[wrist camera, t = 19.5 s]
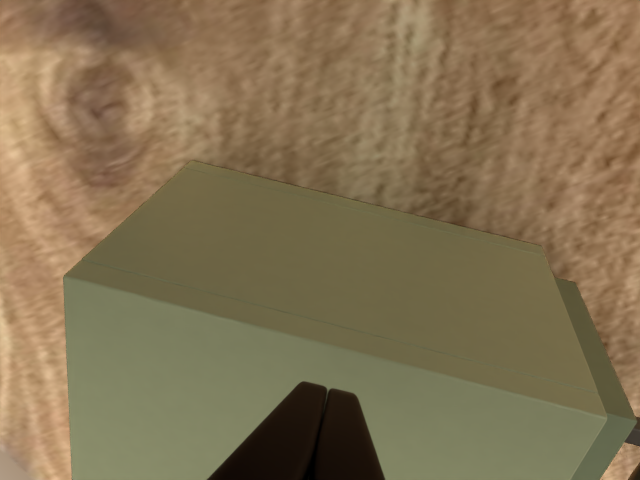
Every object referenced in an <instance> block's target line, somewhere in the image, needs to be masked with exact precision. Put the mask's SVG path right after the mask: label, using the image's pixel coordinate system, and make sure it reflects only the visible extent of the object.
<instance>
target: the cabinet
mask: <svg viewBox="0 0 640 480" xmlns="http://www.w3.org/2000/svg"><path fill="white" fill-rule="evenodd" d="M63 285H64V308H65V331H66V354H67V377H68V400H69V423H70V446H71V468H72V480H207V479H208V478H209V477H210V476H211V475H212V474H213V473H214V471H215V470H216V469H217V468H218V467H219V466H220V465H221V464H222V463H223V462H224V461H225V460H226V459H227V458H228V457H229V456H230V455H231V454H232V453H233V452H234V451H235V449H236V448H237V447H238V446H239V445H240V444H241V443H242V442H243V441H244V440H245V439H246V438H247V437H248V436H249V435H250V434H251V433H252V432H253V431H254V430H255V429H256V427H257V426H258V425H259V424H260V423H261V422H262V421H263V420H264V419H265V418H266V417H267V416H268V415H269V414H270V413H271V412H272V411H273V410H274V409H275V408H276V407H277V405H278V404H279V403H280V402H281V401H282V400H283V399H284V398H285V397H286V396H287V395H288V394H289V393H290V392H291V391H292V390H293V389H294V388H295V387H296V386H297V385H298V384H299V383H300V382H302V381H306V382H311V383H315V384H319V385H323V386H325V387H326V388H327V390H328V391H329V390H330V389H331V388H335V389H339V390H343V391H347V392H352V393H354V394H355V395H356V396H357V397H358V400H359V402H360V405H361V408H362V411H363V414H364V417H365V420H366V423H367V426H368V429H369V432H370V435H371V438H372V441H373V444H374V447H375V450H376V453H377V456H378V459H379V462H380V465H381V468H382V471H383V474H384V477H385V480H570V479H571V478H572V476H573V475H574V473H575V471H576V470H577V468H578V466H579V465H580V463H581V462H582V460H583V458H584V457H585V455H586V453H587V452H588V450H589V449H590V447H591V445H592V444H593V442H594V440H595V439H596V437H597V436H598V434H599V432H600V431H601V429H602V427H603V426H604V424H605V423H606V421H607V415H606V412H605V409H604V407H603V404H602V402H601V399H600V396H599V395H598V390H597V388H596V385H595V383H594V380H593V377H592V375H591V372H590V370H589V367H588V365H587V362H586V359H585V357H584V354H583V352H582V349H581V346H580V344H579V341H578V339H577V336H576V333H575V331H574V328H573V326H572V323H571V321H570V318H569V315H568V313H567V310H566V308H565V305H564V302H563V300H562V297H561V295H560V292H559V290H558V287H557V284H556V282H555V279H554V277H553V274H552V271H551V269H550V266H549V264H548V261H547V259H546V256H545V253H544V251H543V248H542V246H540V245H536V244H532V243H528V242H524V241H520V240H516V239H511V238H507V237H503V236H499V235H495V234H491V233H487V232H483V231H479V230H475V229H471V228H467V227H462V226H458V225H454V224H450V223H446V222H442V221H438V220H434V219H430V218H426V217H422V216H418V215H413V214H409V213H405V212H401V211H397V210H393V209H389V208H385V207H381V206H377V205H373V204H369V203H364V202H360V201H356V200H352V199H348V198H344V197H340V196H336V195H332V194H328V193H324V192H320V191H315V190H311V189H307V188H303V187H299V186H295V185H291V184H287V183H283V182H279V181H275V180H270V179H266V178H262V177H258V176H254V175H250V174H246V173H242V172H238V171H234V170H230V169H226V168H221V167H217V166H213V165H209V164H205V163H201V162H197V161H193V160H192V161H190V162H189V163H188V164H187V165H186V166H185V167H184V168H182V169H181V170H180V171H179V172H178V173H177V174H176V175H175V176H174V177H172V178H171V179H170V180H169V181H168V182H167V183H166V184H165V185H164V186H162V187H161V188H160V189H159V190H158V191H157V192H156V193H155V194H154V195H152V196H151V197H150V198H149V199H148V200H147V201H146V202H145V203H144V204H142V205H141V206H140V207H139V208H138V209H137V210H136V211H135V212H133V213H132V214H131V215H130V216H129V217H128V218H127V219H126V220H125V221H123V222H122V223H121V224H120V225H119V226H118V227H117V228H116V229H115V230H113V231H112V232H111V233H110V234H109V235H108V236H107V237H106V238H105V239H103V240H102V241H101V242H100V243H99V244H98V245H97V246H96V247H95V248H93V249H92V250H91V251H90V252H89V253H88V254H87V255H86V256H85V257H83V258H82V261H79V262H78V263H77V264H76V265H75V266H74V267H73V268H72V269H71V270H69V271H68V272H67V273H66V274H65V275H64V277H63ZM327 394H328V393H327ZM326 398H327V397H326ZM325 403H326V402H325ZM323 412H324V411H323Z"/></svg>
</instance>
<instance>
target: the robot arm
mask: <svg viewBox="0 0 640 480" xmlns="http://www.w3.org/2000/svg"><path fill="white" fill-rule="evenodd" d="M327 393H328V394H327ZM326 397H327V398H326ZM325 402H326V403H325ZM323 411H324V412H323ZM207 480H385V477H384V474H383V471H382V468H381V465H380V462H379V459H378V456H377V453H376V450H375V447H374V444H373V441H372V438H371V435H370V432H369V429H368V426H367V423H366V420H365V417H364V414H363V411H362V408H361V405H360V402H359V400H358V397H357V396H356V395H355V394H354V393H352V392H347V391H343V390H339V389H335V388H331V389H330V390H329V391H328V390H327V388H326V387H325V386H323V385H319V384H315V383H311V382H306V381H302V382H300V383H299V384H298V385H297V386H296V387H295V388H294V389H293V390H292V391H291V392H290V393H289V394H288V395H287V396H286V397H285V398H284V399H283V400H282V401H281V402H280V403H279V404H278V405H277V407H276V408H275V409H274V410H273V411H272V412H271V413H270V414H269V415H268V416H267V417H266V418H265V419H264V420H263V421H262V422H261V423H260V424H259V425H258V426H257V427H256V429H255V430H254V431H253V432H252V433H251V434H250V435H249V436H248V437H247V438H246V439H245V440H244V441H243V442H242V443H241V444H240V445H239V446H238V447H237V448H236V449H235V451H234V452H233V453H232V454H231V455H230V456H229V457H228V458H227V459H226V460H225V461H224V462H223V463H222V464H221V465H220V466H219V467H218V468H217V469H216V470H215V471H214V473H213V474H212V475H211V476H210V477H209V478H208V479H207Z"/></svg>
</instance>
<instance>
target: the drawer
mask: <svg viewBox="0 0 640 480" xmlns="http://www.w3.org/2000/svg"><path fill="white" fill-rule="evenodd" d="M554 279H555V282H556V284H557V287H558V290H559V292H560V295H561V297H562V300H563V302H564V305H565V308H566V310H567V313H568V315H569V318H570V321H571V323H572V326H573V328H574V331H575V333H576V336H577V339H578V341H579V344H580V346H581V349H582V352H583V354H584V357H585V359H586V362H587V365H588V367H589V370H590V372H591V375H592V377H593V380H594V383H595V385H596V388H597V390H598V395H599V396H600V399H601V402H602V404H603V407H604V409H605V412H606V415H607V421H606V423H605V424H604V426H603V427H602V429H601V431H600V432H599V434H598V436H597V437H596V439H595V440H594V442H593V444H592V445H591V447H590V449H589V450H588V452H587V453H586V455H585V457H584V458H583V460H582V462H581V463H580V465H579V466H578V468H577V470H576V471H575V473H574V475H573V476H572V478H571V479H570V480H600V478H601V477H602V475H603V474H604V472H605V471H606V469H607V468H608V466H609V464H610V463H611V461H612V460H613V458H614V457H615V455H616V454H617V452H618V451H619V449H620V448H621V446H622V445H623V443H624V442H626V443H630V444H633V445H637V446H640V418H639V417H636V416H635V415H634V413H633V411H632V408H631V406H630V404H629V402H628V399H627V397H626V395H625V393H624V390H623V388H622V386H621V384H620V381H619V379H618V377H617V375H616V372H615V370H614V368H613V366H612V363H611V361H610V359H609V357H608V355H607V352H606V350H605V348H604V346H603V343H602V341H601V339H600V337H599V334H598V332H597V330H596V328H595V325H594V323H593V321H592V319H591V316H590V314H589V312H588V310H587V307H586V305H585V303H584V301H583V298H582V296H581V294H580V292H579V289H578V287H577V285H576V283H575V282H571V281H567V280H563V279H559V278H555V277H554ZM628 480H640V463H639V464H638V466H637V467H636V468H635V470H634V471H633V473H632V474H631V476H630V477H629V479H628Z"/></svg>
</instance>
